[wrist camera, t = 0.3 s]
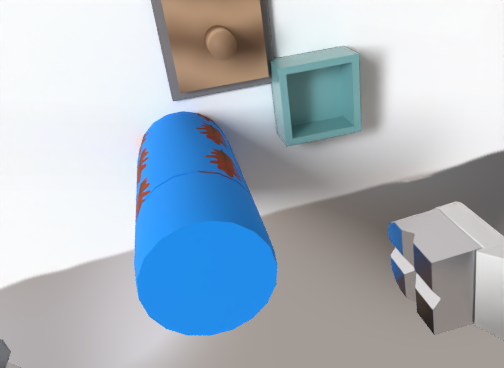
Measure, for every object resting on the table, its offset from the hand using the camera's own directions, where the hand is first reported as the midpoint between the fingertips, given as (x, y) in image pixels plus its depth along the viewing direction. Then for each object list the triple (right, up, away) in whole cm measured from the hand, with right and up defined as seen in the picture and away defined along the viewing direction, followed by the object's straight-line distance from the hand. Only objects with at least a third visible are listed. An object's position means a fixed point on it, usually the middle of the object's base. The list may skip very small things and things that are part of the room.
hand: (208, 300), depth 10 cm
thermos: (-7, +6, +48) cm, 49 cm away
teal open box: (+8, +14, +47) cm, 50 cm away
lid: (-3, +18, +42) cm, 46 cm away
